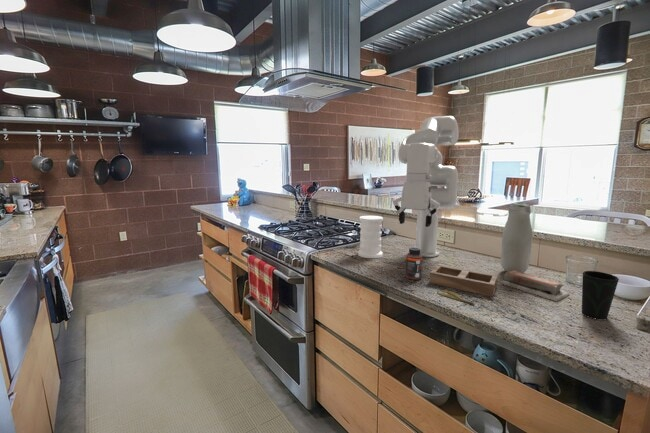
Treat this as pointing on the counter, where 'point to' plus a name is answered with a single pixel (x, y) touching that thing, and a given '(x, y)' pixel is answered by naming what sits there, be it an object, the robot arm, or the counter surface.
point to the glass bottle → (517, 238)
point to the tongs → (455, 296)
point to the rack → (464, 280)
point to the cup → (597, 293)
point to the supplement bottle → (413, 264)
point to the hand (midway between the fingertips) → (414, 224)
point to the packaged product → (534, 285)
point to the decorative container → (370, 236)
